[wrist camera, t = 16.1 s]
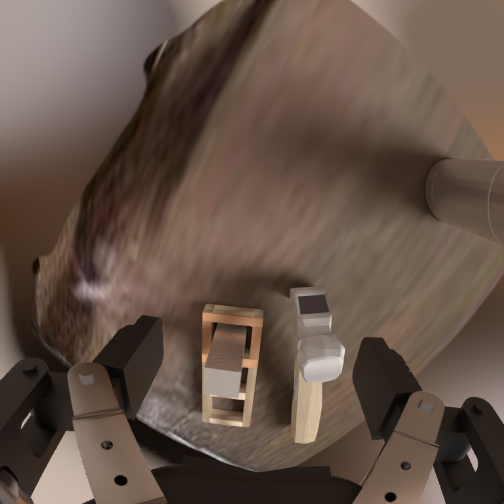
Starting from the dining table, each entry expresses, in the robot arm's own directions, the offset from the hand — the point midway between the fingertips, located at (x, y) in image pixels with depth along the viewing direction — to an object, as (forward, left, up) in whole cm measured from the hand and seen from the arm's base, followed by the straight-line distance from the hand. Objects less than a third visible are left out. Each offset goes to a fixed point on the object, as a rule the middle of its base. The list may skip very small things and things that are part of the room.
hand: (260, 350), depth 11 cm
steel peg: (+3, +16, -28) cm, 32 cm away
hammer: (-8, +21, -28) cm, 36 cm away
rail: (+3, +23, -28) cm, 36 cm away
